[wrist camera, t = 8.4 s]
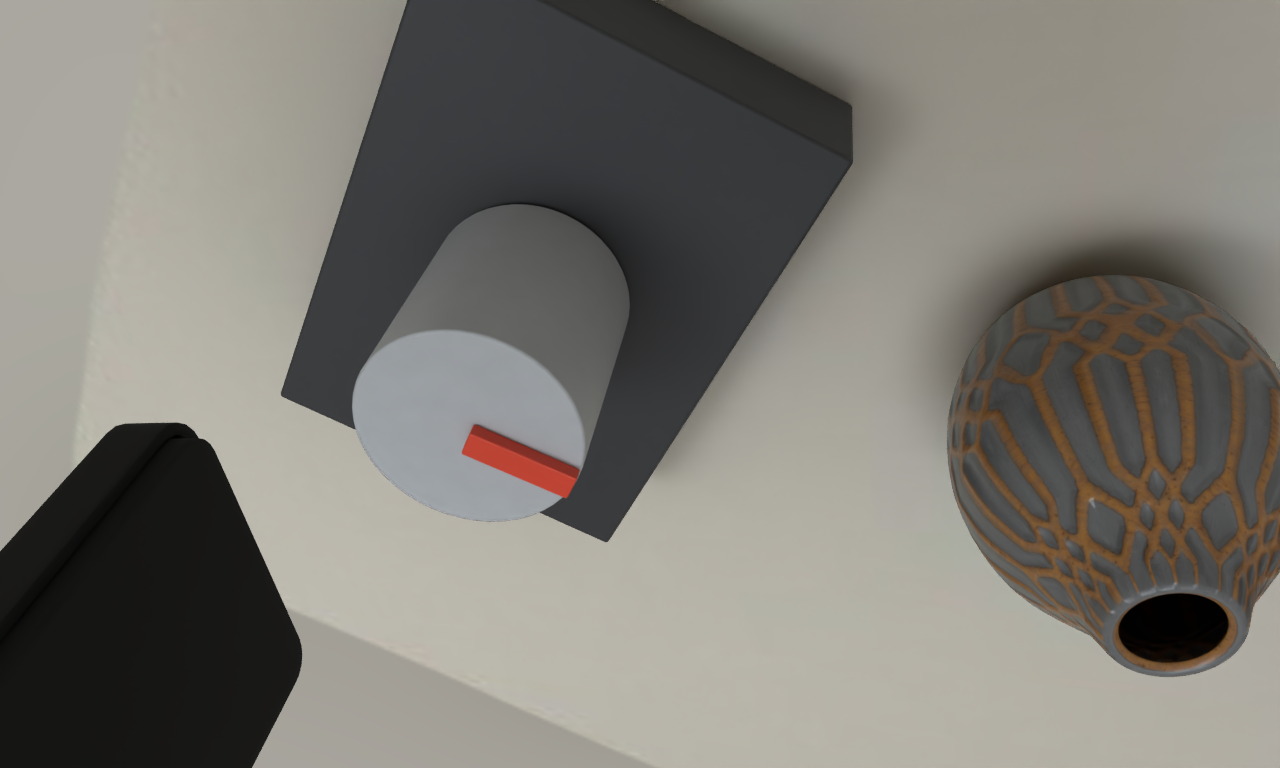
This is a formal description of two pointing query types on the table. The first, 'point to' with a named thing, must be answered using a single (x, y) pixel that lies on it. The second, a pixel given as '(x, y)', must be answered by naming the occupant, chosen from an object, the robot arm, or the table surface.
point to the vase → (1124, 466)
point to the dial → (496, 366)
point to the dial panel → (581, 197)
